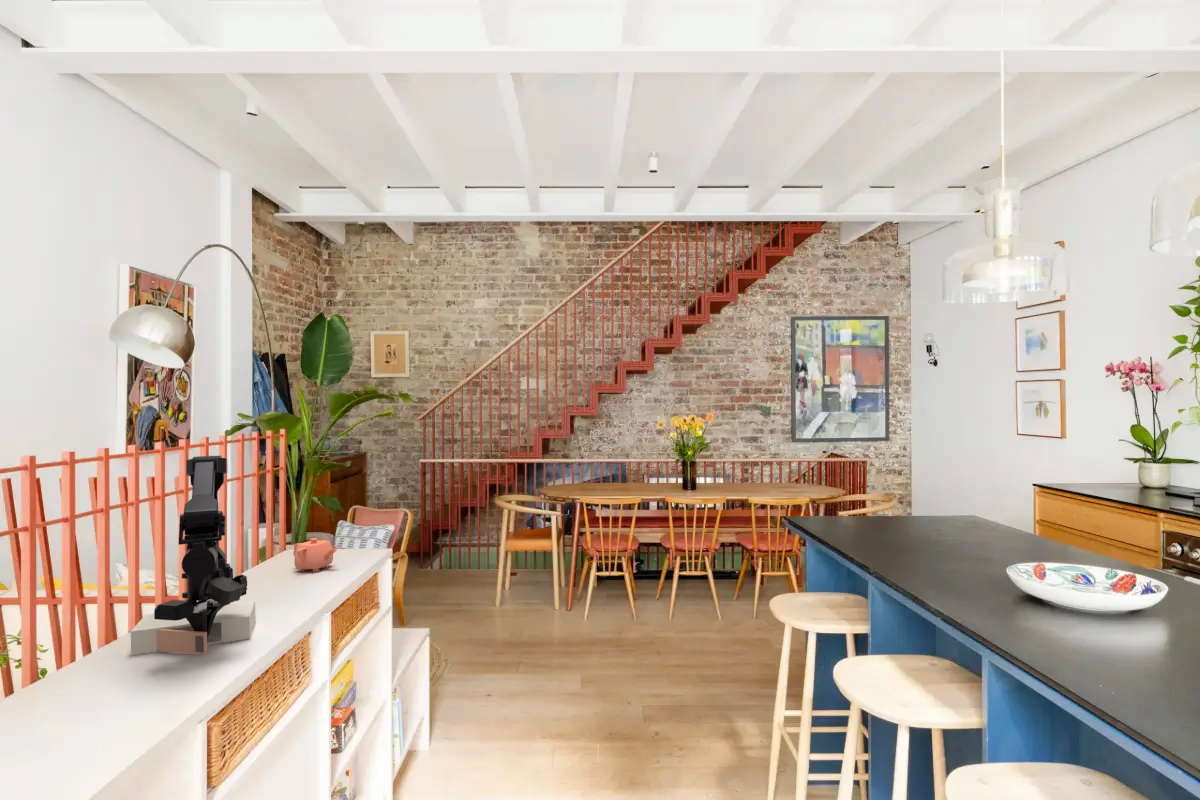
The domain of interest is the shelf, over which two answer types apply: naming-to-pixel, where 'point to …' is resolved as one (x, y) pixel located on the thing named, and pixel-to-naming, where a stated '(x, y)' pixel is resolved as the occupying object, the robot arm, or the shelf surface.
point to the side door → (182, 641)
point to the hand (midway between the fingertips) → (203, 640)
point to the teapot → (313, 554)
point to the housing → (226, 627)
